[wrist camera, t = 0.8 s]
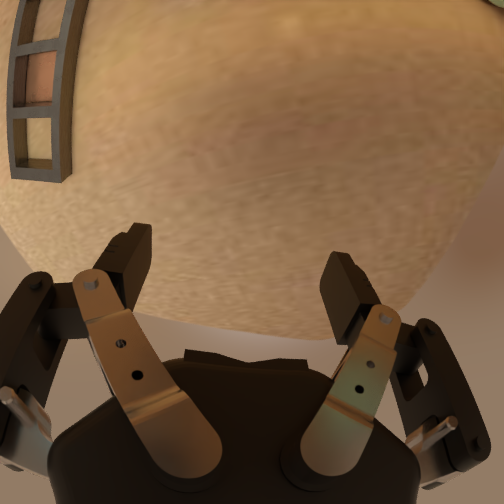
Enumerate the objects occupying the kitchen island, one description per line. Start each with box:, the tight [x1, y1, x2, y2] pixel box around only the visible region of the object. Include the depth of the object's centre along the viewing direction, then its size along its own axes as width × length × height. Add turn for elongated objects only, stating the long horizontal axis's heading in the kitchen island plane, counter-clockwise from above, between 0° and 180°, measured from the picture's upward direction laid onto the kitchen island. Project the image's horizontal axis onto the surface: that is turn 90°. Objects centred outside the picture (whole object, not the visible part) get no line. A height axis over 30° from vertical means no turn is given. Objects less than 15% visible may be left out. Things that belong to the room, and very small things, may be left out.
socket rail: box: [7, 0, 89, 183], centre depth 21 cm, size 26×9×3 cm, turn 167°
